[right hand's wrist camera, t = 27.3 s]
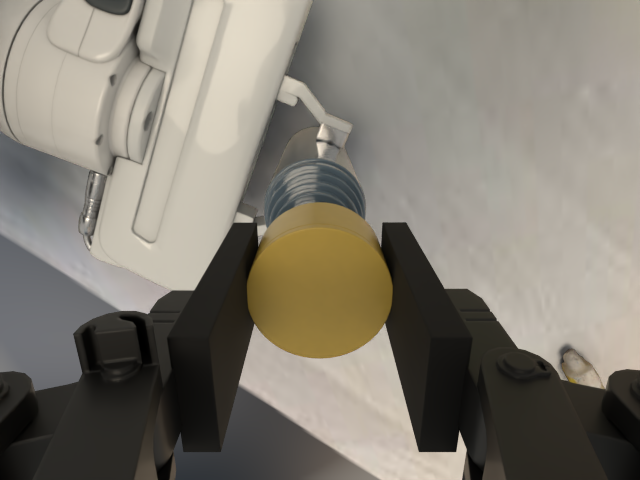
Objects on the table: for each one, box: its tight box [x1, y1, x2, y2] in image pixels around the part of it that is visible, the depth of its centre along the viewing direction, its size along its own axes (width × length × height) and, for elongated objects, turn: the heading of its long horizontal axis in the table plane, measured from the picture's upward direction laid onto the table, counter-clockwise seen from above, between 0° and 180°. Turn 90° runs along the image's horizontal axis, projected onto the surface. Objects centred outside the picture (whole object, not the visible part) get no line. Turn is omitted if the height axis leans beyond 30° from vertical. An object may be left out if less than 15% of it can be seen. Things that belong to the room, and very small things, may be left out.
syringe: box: [562, 349, 605, 389], centre depth 42 cm, size 25×4×3 cm, turn 31°
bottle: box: [264, 127, 366, 228], centre depth 24 cm, size 5×5×20 cm
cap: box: [247, 202, 393, 358], centre depth 13 cm, size 4×4×2 cm
